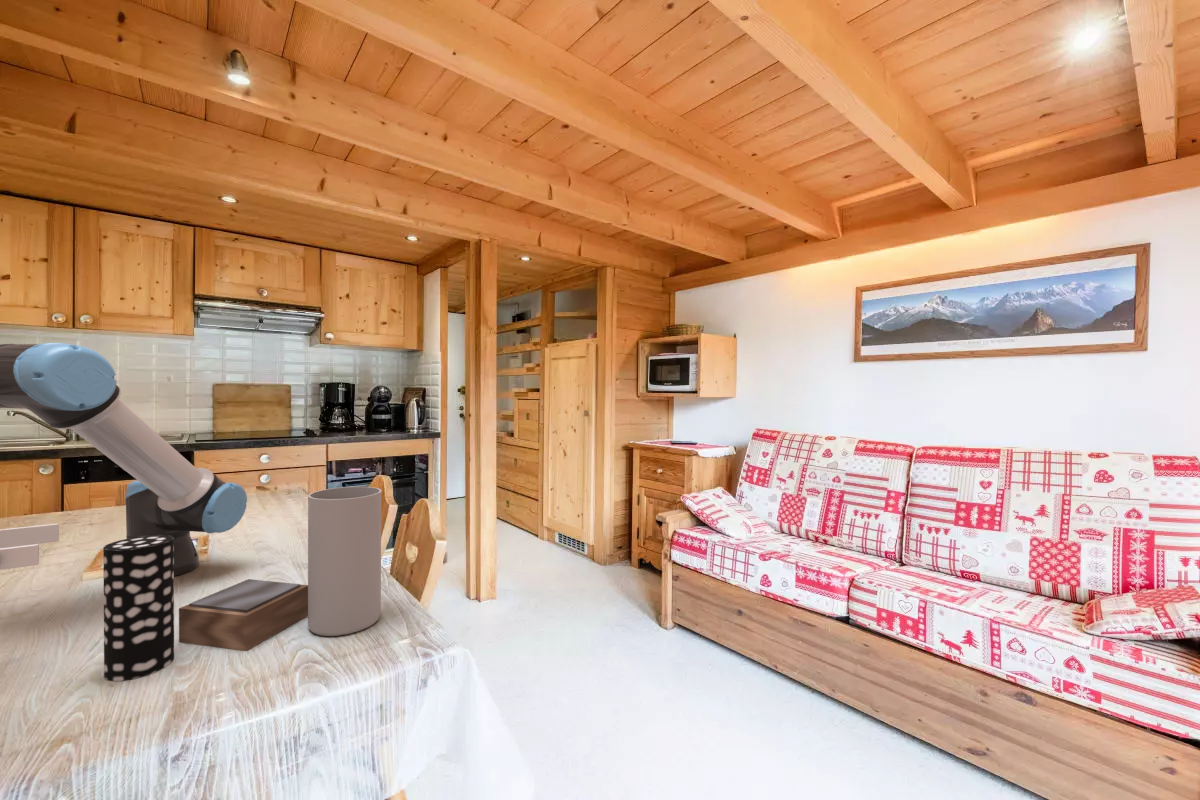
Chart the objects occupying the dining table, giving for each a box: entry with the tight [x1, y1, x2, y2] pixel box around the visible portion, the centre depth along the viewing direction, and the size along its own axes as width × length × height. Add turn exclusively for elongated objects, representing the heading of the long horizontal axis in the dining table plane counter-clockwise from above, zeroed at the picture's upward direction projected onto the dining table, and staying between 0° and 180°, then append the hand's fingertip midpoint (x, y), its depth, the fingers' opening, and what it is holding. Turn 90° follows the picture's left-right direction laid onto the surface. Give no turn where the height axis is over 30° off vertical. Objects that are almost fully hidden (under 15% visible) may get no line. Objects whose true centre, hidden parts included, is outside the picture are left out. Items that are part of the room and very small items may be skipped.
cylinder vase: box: [307, 486, 382, 637], centre depth 97 cm, size 12×12×25 cm
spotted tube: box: [102, 535, 175, 682], centre depth 81 cm, size 8×8×20 cm
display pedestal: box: [178, 578, 308, 652], centre depth 94 cm, size 14×14×6 cm
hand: (49, 542), depth 74 cm, fingers open, 13 cm apart
